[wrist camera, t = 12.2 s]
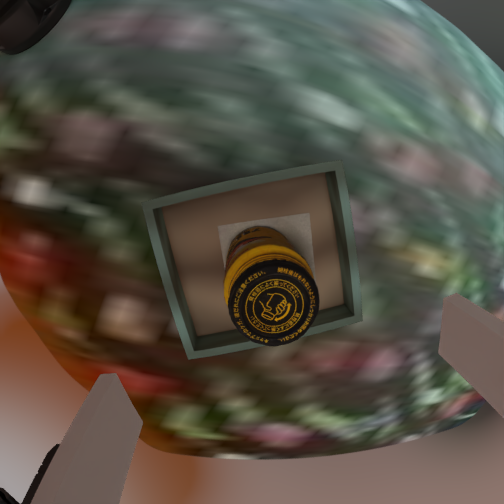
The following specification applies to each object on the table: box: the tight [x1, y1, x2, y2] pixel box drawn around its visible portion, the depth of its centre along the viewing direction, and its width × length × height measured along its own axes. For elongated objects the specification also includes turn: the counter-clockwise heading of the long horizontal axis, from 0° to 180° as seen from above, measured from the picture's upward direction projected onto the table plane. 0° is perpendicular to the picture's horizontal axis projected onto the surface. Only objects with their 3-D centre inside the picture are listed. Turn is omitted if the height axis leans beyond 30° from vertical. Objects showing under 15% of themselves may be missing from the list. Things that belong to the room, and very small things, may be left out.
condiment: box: [218, 213, 320, 346], centre depth 22 cm, size 7×8×12 cm
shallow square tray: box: [141, 160, 363, 359], centre depth 29 cm, size 15×17×8 cm
